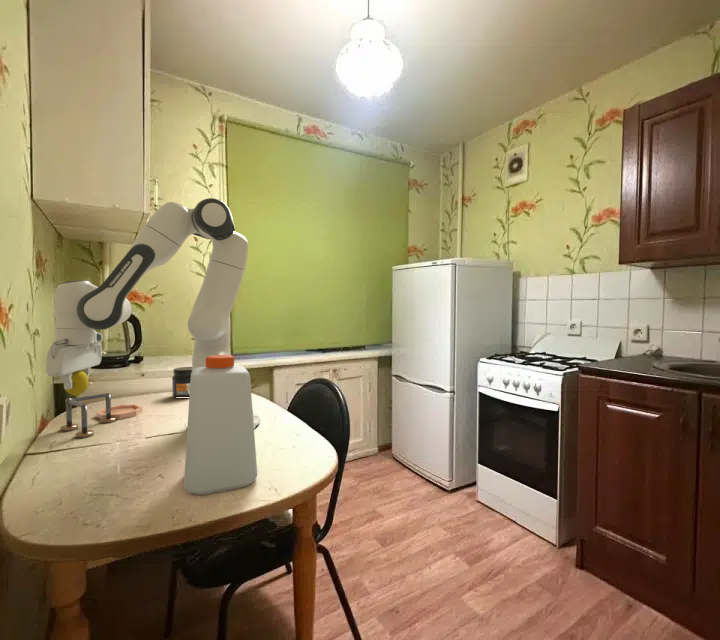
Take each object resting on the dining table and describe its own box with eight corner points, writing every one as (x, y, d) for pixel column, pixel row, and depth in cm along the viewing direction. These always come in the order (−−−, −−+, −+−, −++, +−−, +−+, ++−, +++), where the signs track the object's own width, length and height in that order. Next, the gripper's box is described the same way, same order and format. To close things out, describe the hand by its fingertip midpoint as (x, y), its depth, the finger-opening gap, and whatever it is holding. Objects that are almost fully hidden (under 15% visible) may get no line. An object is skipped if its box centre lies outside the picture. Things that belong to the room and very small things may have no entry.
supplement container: (195, 399, 156) (194, 370, 156) (168, 399, 155) (168, 370, 154) (202, 393, 166) (202, 366, 166) (177, 393, 165) (176, 366, 165)
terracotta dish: (146, 408, 141) (146, 404, 141) (131, 419, 128) (131, 413, 128) (109, 410, 139) (109, 405, 139) (90, 420, 126) (90, 415, 126)
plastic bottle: (185, 470, 89) (183, 353, 88) (250, 460, 95) (250, 350, 94) (183, 501, 75) (181, 363, 74) (260, 486, 81) (259, 359, 80)
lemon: (60, 397, 105) (59, 369, 105) (82, 393, 110) (81, 366, 110) (70, 400, 103) (70, 371, 103) (92, 395, 108) (92, 368, 108)
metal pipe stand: (118, 419, 128) (118, 390, 128) (88, 437, 110) (87, 404, 110) (79, 420, 126) (78, 391, 126) (41, 440, 108) (40, 406, 108)
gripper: (64, 341, 96) (66, 394, 97) (105, 334, 116) (106, 378, 117) (37, 341, 95) (39, 395, 96) (83, 335, 115) (84, 379, 116)
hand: (76, 386), depth 107 cm, fingers closed on lemon, 5 cm apart
